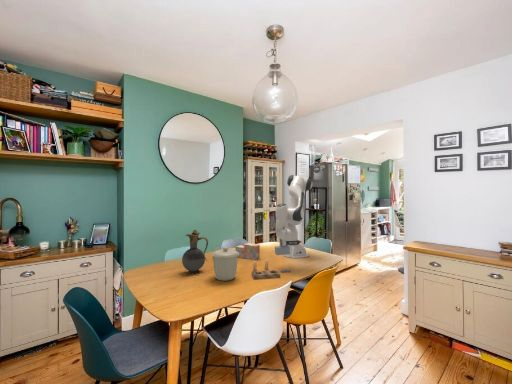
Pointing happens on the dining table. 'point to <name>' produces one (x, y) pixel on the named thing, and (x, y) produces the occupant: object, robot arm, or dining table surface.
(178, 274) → the dining table surface
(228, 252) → the canister
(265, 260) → the pin
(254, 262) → the pin
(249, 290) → the dining table surface
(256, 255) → the floral patterned box
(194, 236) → the pitcher
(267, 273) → the socket board
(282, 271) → the card
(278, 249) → the housing
